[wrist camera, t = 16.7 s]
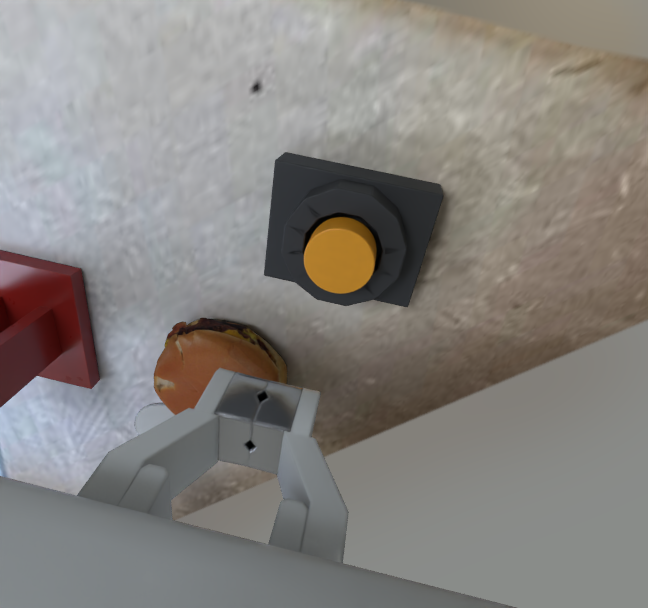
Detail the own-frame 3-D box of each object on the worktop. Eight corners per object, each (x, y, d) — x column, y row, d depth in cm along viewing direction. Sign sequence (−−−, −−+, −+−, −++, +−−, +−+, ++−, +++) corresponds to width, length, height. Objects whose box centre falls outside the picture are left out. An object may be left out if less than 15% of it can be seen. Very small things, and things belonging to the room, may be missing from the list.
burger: (296, 410, 34) (282, 456, 30) (191, 404, 36) (165, 447, 32) (280, 306, 29) (261, 345, 25) (160, 305, 31) (124, 341, 27)
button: (315, 209, 21) (308, 221, 20) (384, 224, 21) (382, 237, 20) (305, 271, 23) (298, 285, 22) (368, 285, 23) (366, 300, 22)
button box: (284, 151, 24) (265, 167, 20) (440, 184, 23) (447, 205, 20) (273, 260, 27) (254, 289, 24) (407, 290, 27) (408, 324, 23)
